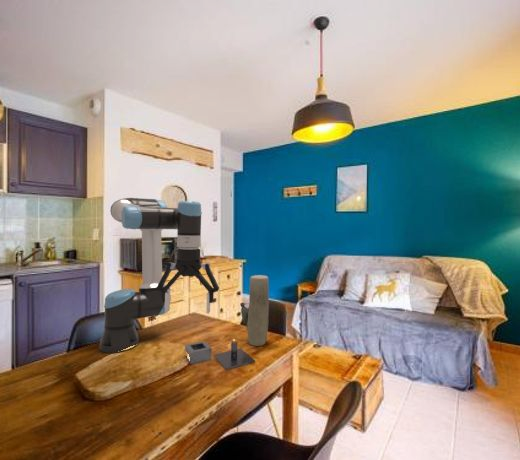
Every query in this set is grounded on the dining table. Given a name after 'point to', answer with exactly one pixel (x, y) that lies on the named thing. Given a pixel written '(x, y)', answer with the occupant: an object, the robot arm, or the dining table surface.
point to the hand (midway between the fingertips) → (187, 312)
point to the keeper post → (234, 357)
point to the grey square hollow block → (198, 352)
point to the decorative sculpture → (257, 310)
